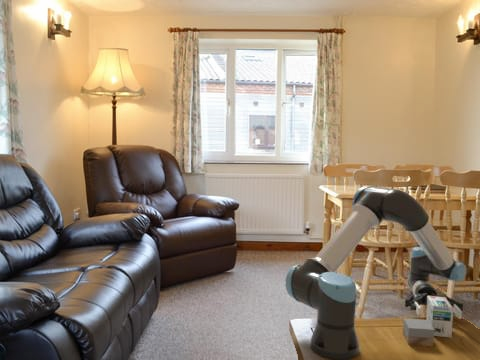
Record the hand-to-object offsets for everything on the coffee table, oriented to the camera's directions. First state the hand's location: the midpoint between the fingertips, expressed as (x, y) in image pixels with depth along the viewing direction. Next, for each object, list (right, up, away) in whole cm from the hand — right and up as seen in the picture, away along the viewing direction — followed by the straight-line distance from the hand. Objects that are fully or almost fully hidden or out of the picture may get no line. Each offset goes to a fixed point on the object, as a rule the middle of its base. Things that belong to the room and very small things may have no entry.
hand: (439, 313), depth 158 cm
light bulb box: (0, -7, +1) cm, 7 cm away
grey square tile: (-10, -4, -6) cm, 13 cm away
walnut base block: (-10, -7, -6) cm, 14 cm away
